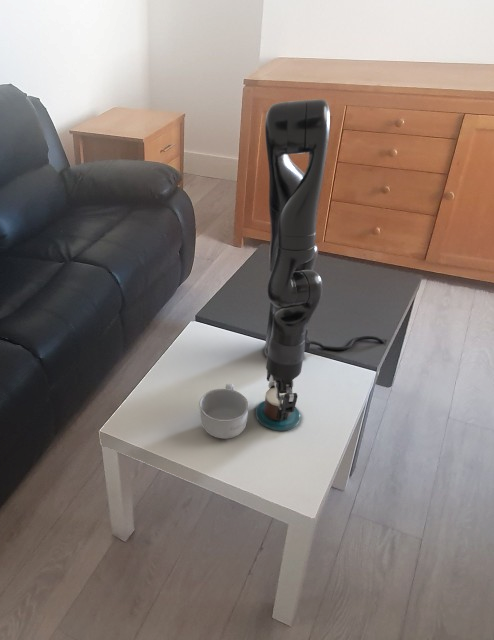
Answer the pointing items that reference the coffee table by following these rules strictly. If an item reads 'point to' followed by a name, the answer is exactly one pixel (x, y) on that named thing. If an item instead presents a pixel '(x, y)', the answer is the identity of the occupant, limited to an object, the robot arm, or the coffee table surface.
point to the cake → (272, 404)
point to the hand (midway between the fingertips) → (277, 409)
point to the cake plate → (275, 424)
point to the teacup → (223, 412)
